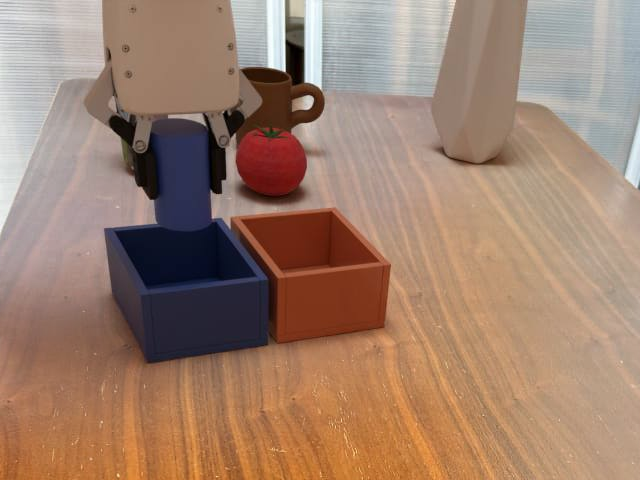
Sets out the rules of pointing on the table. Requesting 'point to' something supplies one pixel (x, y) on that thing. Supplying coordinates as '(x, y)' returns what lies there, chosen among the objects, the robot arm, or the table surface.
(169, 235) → the blue bin
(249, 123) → the mug
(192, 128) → the blue cylinder
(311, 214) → the terracotta bin
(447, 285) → the table surface
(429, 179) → the table surface
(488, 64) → the vase
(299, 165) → the tomato
